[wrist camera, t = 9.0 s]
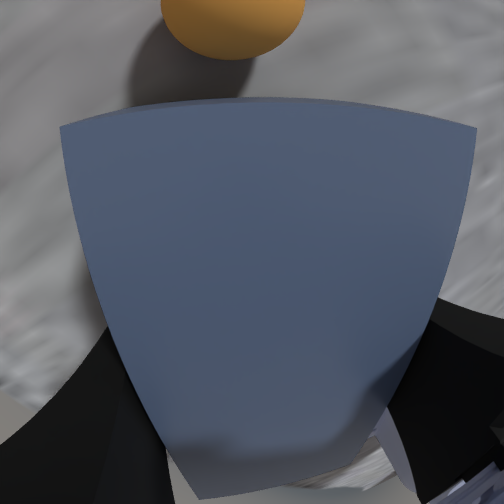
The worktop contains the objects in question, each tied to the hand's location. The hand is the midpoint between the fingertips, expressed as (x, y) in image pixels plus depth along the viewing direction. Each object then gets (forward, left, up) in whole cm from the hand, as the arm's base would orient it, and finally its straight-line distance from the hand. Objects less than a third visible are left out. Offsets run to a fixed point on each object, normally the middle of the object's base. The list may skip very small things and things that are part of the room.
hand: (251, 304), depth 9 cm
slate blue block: (0, 0, -1) cm, 1 cm away
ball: (+9, 0, -1) cm, 9 cm away
